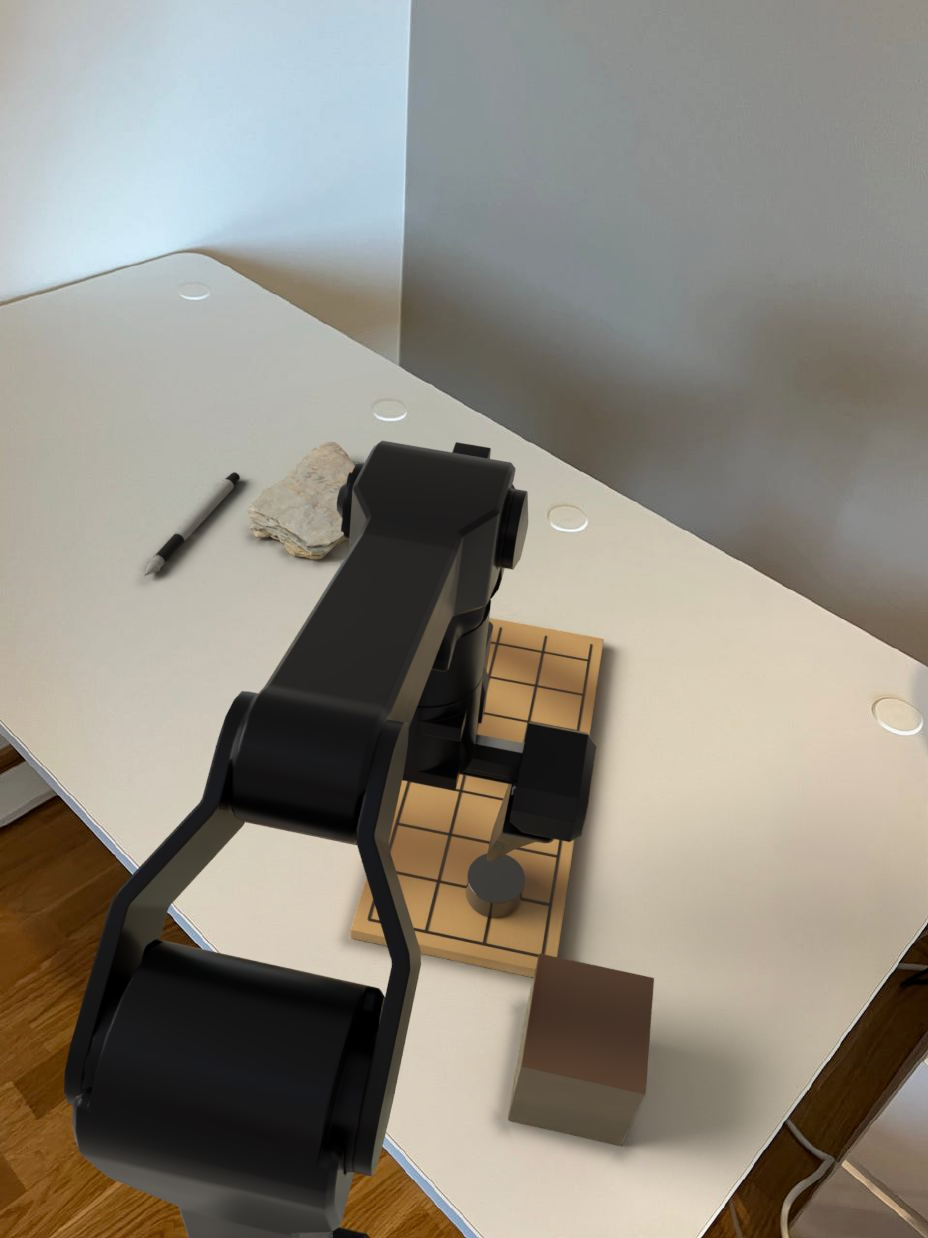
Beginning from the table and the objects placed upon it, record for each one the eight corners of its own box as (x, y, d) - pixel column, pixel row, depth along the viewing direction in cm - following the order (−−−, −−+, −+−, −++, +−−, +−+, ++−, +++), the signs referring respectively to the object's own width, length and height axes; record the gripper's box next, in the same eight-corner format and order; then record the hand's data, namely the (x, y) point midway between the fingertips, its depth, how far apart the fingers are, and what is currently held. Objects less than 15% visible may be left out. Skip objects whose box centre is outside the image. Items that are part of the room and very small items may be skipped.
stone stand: (621, 1147, 64) (645, 1094, 59) (507, 1120, 65) (520, 1066, 59) (631, 1035, 69) (654, 977, 64) (525, 1012, 70) (538, 952, 64)
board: (552, 982, 72) (555, 973, 71) (350, 938, 73) (350, 929, 72) (601, 648, 94) (604, 637, 93) (446, 619, 96) (447, 609, 95)
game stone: (517, 923, 73) (520, 908, 72) (460, 911, 74) (462, 896, 72) (526, 874, 76) (529, 858, 75) (471, 862, 76) (473, 847, 75)
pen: (242, 482, 108) (241, 472, 107) (151, 583, 96) (149, 573, 95) (230, 479, 108) (229, 468, 107) (139, 579, 97) (136, 568, 96)
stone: (327, 456, 112) (326, 436, 110) (411, 493, 108) (412, 472, 106) (233, 529, 102) (231, 508, 101) (322, 572, 99) (321, 551, 97)
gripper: (624, 591, 59) (584, 766, 70) (297, 533, 60) (307, 711, 71) (604, 747, 51) (562, 915, 62) (228, 674, 53) (252, 850, 64)
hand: (416, 839), depth 65 cm, fingers open, 9 cm apart
